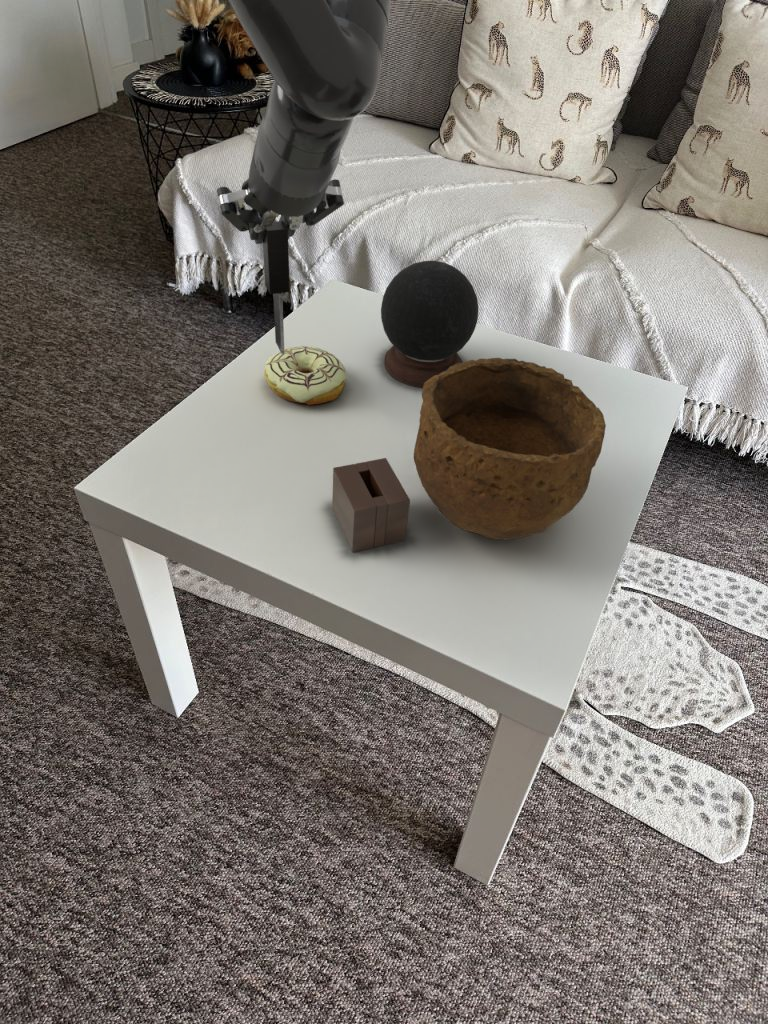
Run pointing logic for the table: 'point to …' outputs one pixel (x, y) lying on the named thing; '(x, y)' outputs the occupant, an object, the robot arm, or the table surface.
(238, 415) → the table surface
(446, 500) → the bowl
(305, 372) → the decorated donut
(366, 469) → the knife block
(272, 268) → the knife
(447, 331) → the black ball on stand
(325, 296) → the table surface
